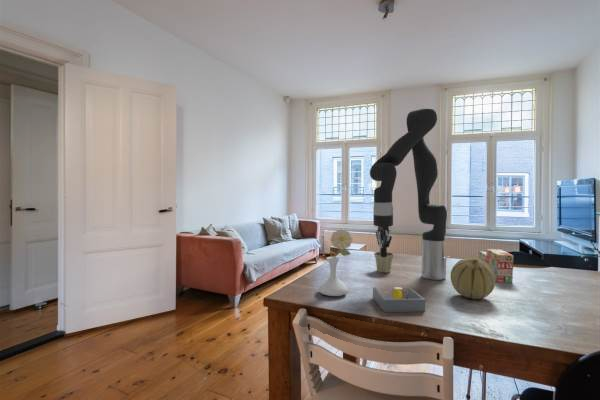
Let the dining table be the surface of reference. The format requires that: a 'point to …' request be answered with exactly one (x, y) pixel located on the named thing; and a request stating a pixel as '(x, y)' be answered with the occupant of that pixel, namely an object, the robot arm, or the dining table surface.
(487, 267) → the cantaloupe
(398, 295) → the watch
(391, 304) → the box
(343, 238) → the flower in vase
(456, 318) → the dining table surface
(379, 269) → the flower pot
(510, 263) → the printed cardboard carton
